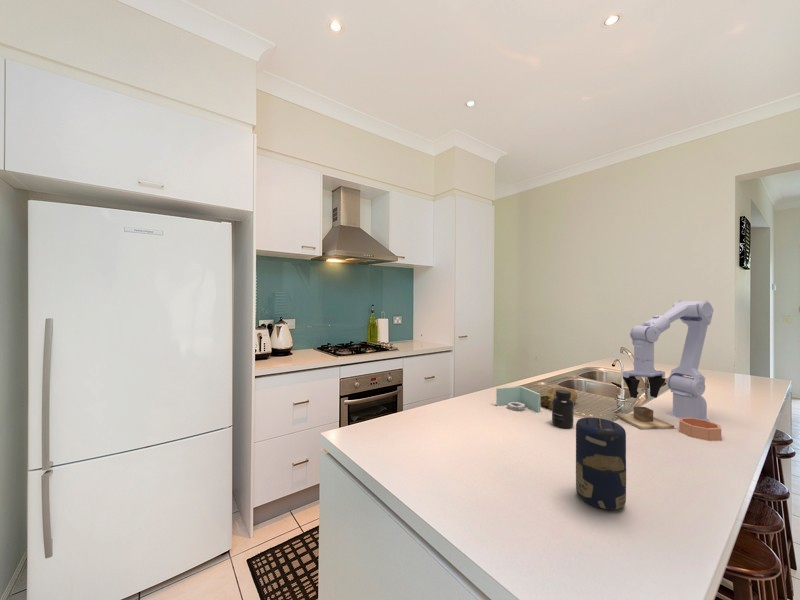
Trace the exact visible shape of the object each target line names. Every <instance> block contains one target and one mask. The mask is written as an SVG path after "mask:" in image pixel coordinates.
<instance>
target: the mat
mask: <svg viewBox="0 0 800 600" xmlns="http://www.w3.org/2000/svg"><path fill="white" fill-rule="evenodd" d="M619 420H621V421H622V422H624V423H626V424H629V425H631V426H632V427H634V428H637V429H638V430H640V431H641V430H644V431H645V430H646V431H647V430H648V431H651V429H640V428H638V427H636V426H634V425H632V424H630V423H628V422H626V421H624V420H622V419H619ZM659 430H677V428H676V427H674V428H660V429H659Z"/></svg>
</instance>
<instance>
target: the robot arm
mask: <svg viewBox="0 0 800 600" xmlns="http://www.w3.org/2000/svg"><path fill="white" fill-rule="evenodd" d="M713 313H714V308H713V306H712V304H711V303H710V302H709V301H708V300H677V301H676V302H673V304H672V307H671V308H670V309H668V310H667V311H666V312H665V313H663V314H662V315H660V314H659V315H657V314H656V315H655V314H654V315H653V316H652V318H650V319H649V320H647V321H644V322H643V323H642V324H640V325H639V324H637V325H635V326H633V327H632V328H631V329H630V332H629V336H630V338H631V341H632V345H633V369H631V370H623V371H622V379H623V380H624V383H625V384H626V386H627V389H628V392H629V396H630V398H633V399H637V398H638V388H639V384H640V381H641V380H640V379H637V378H647V380H648V384H649V395H650V397H652V398H655V399H657V398H658V395H659V392H660V390H661V388H662V386H663V385H664V383H666V386H667V388H668V389H670V393H672V412H666V415H669V416H671V417H674V418H676V419H679V418H696V419H702V420H707V421H710V420H709V419H707V412H708V411H707V409H708V408H707V407H708V406H707V405H708V404H707V400H706V398H705V397H704V396H702V395H703V394H704V393H705V391H706V384H705V382H706V377H705V376H704V375H703V374H702V373H701V372H700V371H699V366H700V362H701V358H702V353H703V348H704V344H705V339H706V335H707V332H708V331H707V330H708V326H709V325H711V323H712V318H713ZM678 319H679V320H680V321H681V322H682V323H683V324H686V326H687V330H686V331H687V332H686V336H685V339H684V345H683V349H682V353H681V357H680V358H681V359H680V362H679V366H677V367H675V368H673V369H671V371H670V374H669V375H668V377H667V379H666V378H665V377H666V371H663V370H655V342H657V341H658V340H659V337H660V336H661V334H662V333H664V332H665V331H666V330H668V329H670V327H671V323H674V322H675V321H677V320H678Z"/></svg>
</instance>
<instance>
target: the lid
mask: <svg viewBox="0 0 800 600" xmlns="http://www.w3.org/2000/svg"><path fill="white" fill-rule="evenodd" d="M614 416H617V417H618V418H620V419H622V420H624V421H626V422H628V423H630V424H632V425H634V426H636V427H638V428H640V429H650V430H661V429H660V428H675V425H673V424H672V423H668V422H666V421H664V420H661V419H659V418H657V417H655V416H654V410H653V409H651V408H649V407H647V406H633V413H616V414H615V415H614ZM618 418H617V419H618ZM620 419H619V420H620ZM622 420H621V421H622ZM624 421H623V422H624ZM626 422H625V423H626ZM628 423H627V424H628ZM630 424H629V425H630ZM632 425H631V426H632ZM634 426H633V427H634ZM636 427H635V428H636ZM638 428H637V429H638ZM640 429H639V430H640Z"/></svg>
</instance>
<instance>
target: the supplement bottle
mask: <svg viewBox="0 0 800 600" xmlns="http://www.w3.org/2000/svg"><path fill="white" fill-rule="evenodd" d="M555 396H556V397H555V398H554V399H553V400H552V409H551V424H552V425H553V426H555V427H557V428H560V429H564V430H565V429H566V430H567V429H568V430H569V429H572V428H573V427H574V416H575V415H574V413H575V402H573V401H572V400H571V399H570V398H571V392H570V391H566V390H556V394H555Z"/></svg>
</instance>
